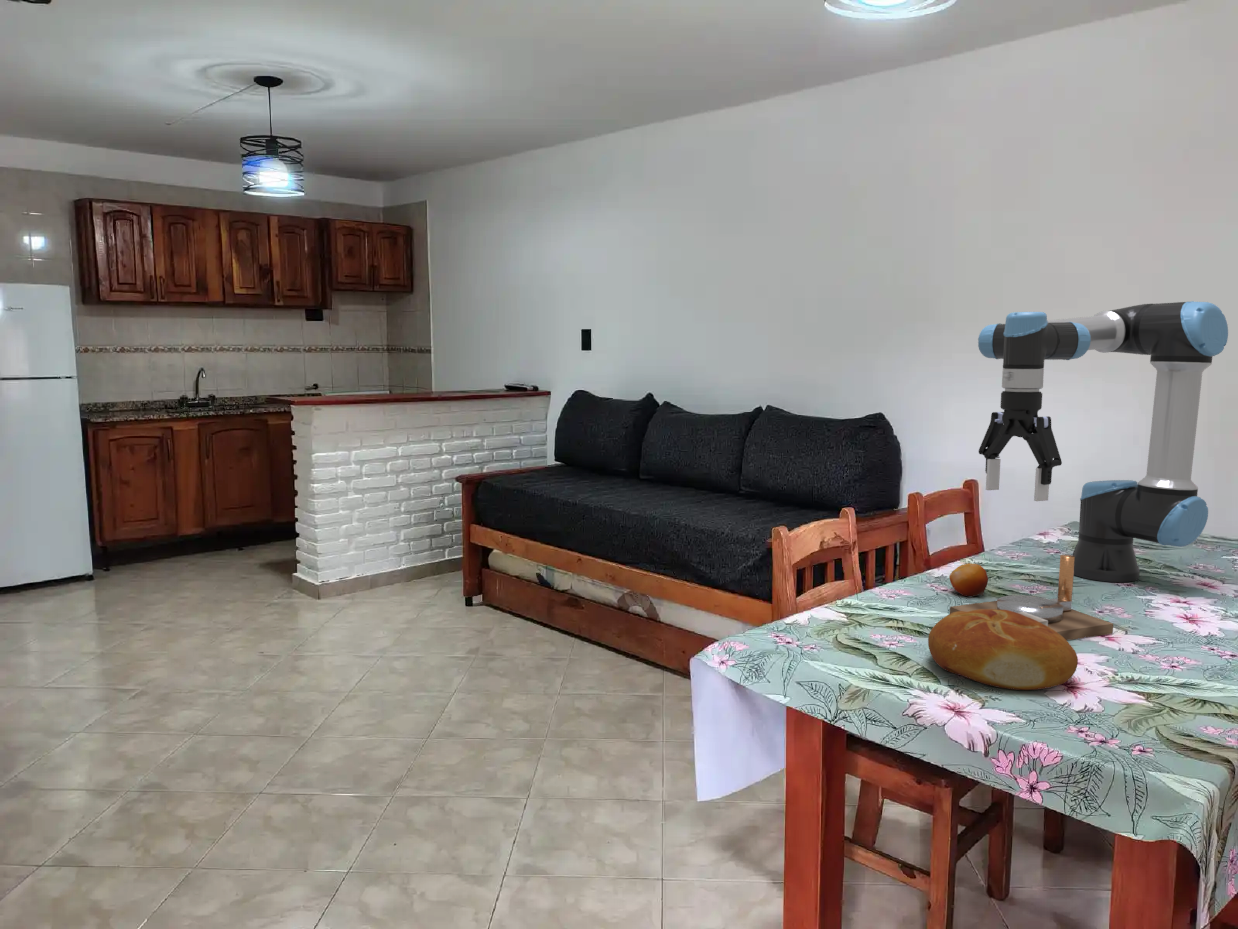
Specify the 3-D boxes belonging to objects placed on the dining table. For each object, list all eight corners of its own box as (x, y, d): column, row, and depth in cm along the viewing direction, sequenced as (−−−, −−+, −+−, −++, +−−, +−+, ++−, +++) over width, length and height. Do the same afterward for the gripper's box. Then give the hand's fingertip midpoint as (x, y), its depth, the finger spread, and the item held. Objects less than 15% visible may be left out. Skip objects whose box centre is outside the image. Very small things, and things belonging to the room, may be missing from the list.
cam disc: (1028, 625, 169) (1031, 569, 167) (983, 608, 180) (986, 555, 179) (1093, 616, 174) (1097, 562, 173) (1046, 600, 185) (1049, 549, 184)
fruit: (1000, 593, 193) (981, 562, 193) (966, 610, 195) (948, 579, 195) (992, 584, 201) (974, 554, 201) (960, 599, 203) (942, 570, 203)
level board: (1033, 605, 190) (1034, 585, 189) (1112, 633, 171) (1114, 611, 170) (949, 616, 182) (950, 595, 182) (1022, 646, 164) (1023, 624, 163)
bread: (1002, 708, 137) (1006, 646, 136) (899, 659, 158) (901, 605, 157) (1104, 685, 146) (1109, 627, 145) (993, 641, 167) (996, 590, 166)
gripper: (964, 387, 186) (959, 486, 189) (1054, 393, 163) (1047, 506, 166) (993, 386, 188) (988, 484, 191) (1086, 392, 165) (1079, 504, 168)
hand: (1015, 495), depth 178 cm, fingers open, 13 cm apart
